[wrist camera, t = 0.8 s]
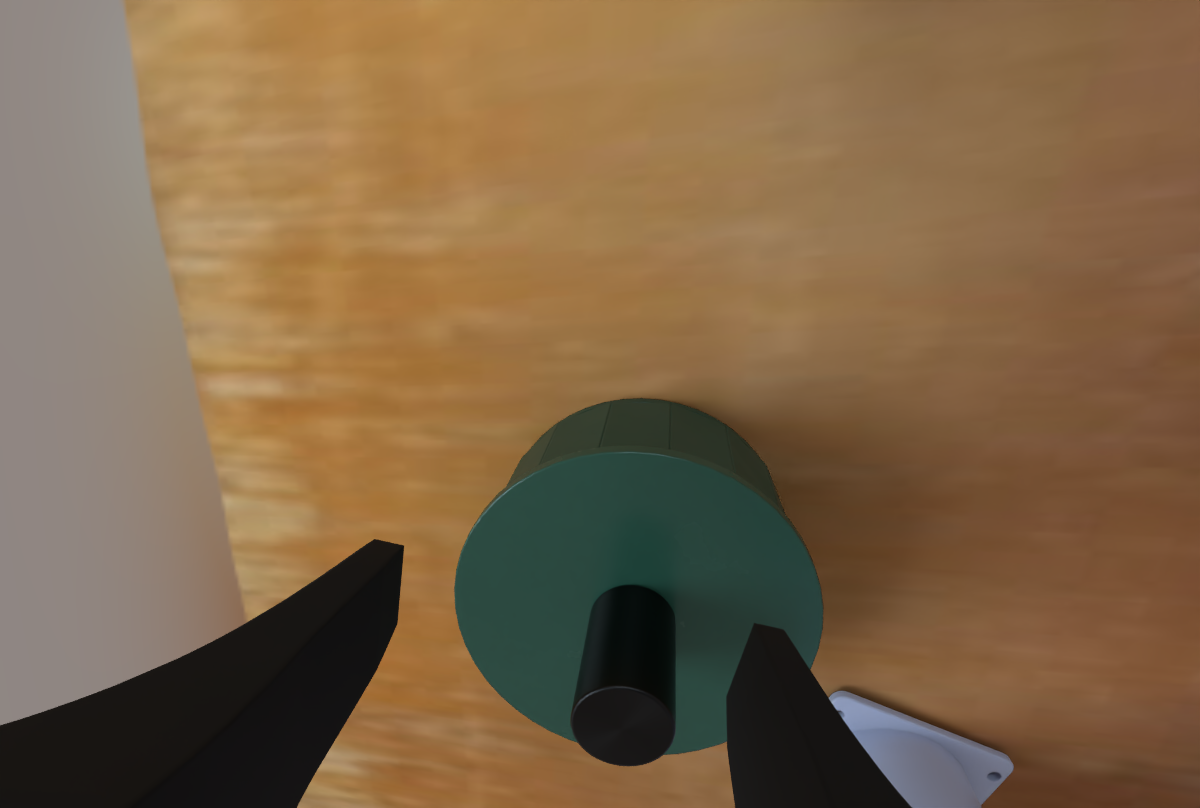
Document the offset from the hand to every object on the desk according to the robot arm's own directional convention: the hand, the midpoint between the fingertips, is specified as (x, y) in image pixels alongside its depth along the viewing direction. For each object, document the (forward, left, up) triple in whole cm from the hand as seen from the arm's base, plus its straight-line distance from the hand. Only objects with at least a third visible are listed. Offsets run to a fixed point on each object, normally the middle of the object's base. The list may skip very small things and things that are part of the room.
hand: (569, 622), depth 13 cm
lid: (-4, -2, -6) cm, 7 cm away
